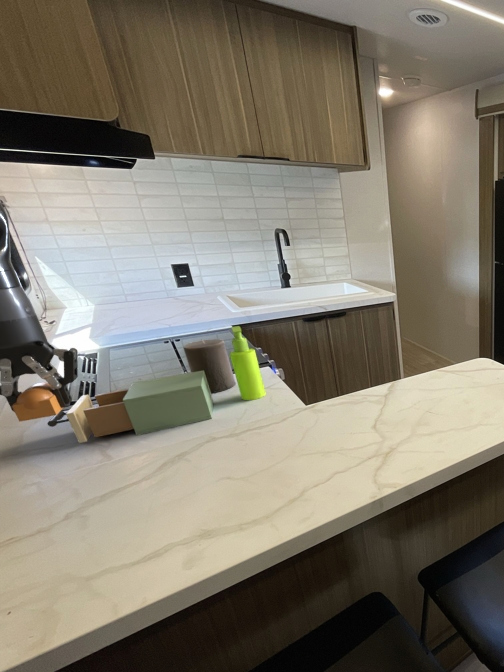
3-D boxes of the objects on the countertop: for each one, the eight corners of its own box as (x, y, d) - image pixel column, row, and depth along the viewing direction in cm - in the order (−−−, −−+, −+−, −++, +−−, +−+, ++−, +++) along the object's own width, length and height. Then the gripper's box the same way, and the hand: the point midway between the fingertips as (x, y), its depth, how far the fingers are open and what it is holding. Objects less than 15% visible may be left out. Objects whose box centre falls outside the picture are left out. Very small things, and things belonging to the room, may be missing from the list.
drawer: (52, 449, 86) (37, 419, 84) (69, 427, 95) (56, 400, 93) (156, 426, 95) (146, 398, 92) (163, 408, 104) (153, 382, 102)
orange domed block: (18, 422, 68) (5, 396, 66) (36, 406, 74) (24, 382, 73) (56, 415, 70) (44, 390, 69) (70, 400, 76) (60, 377, 75)
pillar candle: (222, 393, 115) (207, 343, 110) (189, 394, 115) (172, 344, 110) (243, 381, 124) (230, 334, 119) (212, 381, 125) (198, 334, 119)
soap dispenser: (243, 403, 108) (223, 331, 101) (240, 395, 114) (221, 326, 106) (267, 397, 111) (250, 327, 104) (264, 390, 117) (247, 323, 110)
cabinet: (136, 435, 93) (122, 400, 90) (145, 414, 103) (133, 382, 100) (211, 418, 100) (201, 385, 97) (213, 400, 110) (203, 370, 107)
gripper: (69, 307, 73) (103, 393, 79) (-51, 317, 66) (-3, 411, 72) (54, 314, 67) (92, 407, 73) (-80, 326, 60) (-25, 428, 66)
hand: (45, 409), depth 72 cm, fingers closed on orange domed block, 4 cm apart
